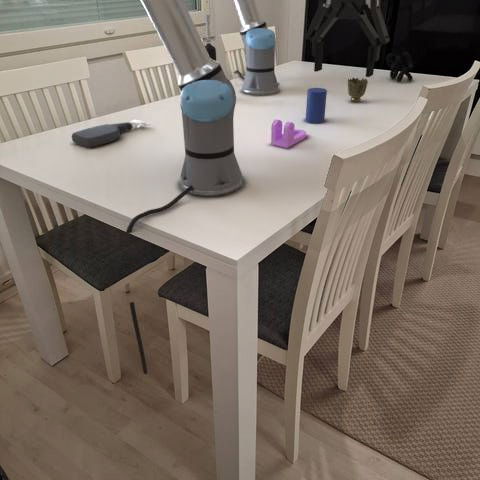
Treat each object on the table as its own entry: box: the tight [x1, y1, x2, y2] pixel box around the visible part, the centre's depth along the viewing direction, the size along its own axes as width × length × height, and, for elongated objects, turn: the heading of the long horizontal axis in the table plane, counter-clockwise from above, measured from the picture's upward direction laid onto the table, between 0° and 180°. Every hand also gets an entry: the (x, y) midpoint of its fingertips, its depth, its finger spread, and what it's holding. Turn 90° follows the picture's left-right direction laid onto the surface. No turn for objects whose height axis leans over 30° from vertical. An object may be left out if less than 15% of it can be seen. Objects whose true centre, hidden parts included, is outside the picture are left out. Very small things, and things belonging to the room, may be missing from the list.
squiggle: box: [385, 51, 414, 83], centre depth 198 cm, size 11×10×15 cm
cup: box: [347, 77, 369, 103], centre depth 170 cm, size 8×7×8 cm
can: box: [305, 87, 328, 124], centre depth 150 cm, size 6×6×10 cm
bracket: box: [270, 119, 307, 149], centre depth 134 cm, size 13×6×7 cm, turn 143°
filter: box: [204, 14, 217, 61], centre depth 171 cm, size 6×6×30 cm
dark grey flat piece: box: [71, 119, 151, 149], centre depth 142 cm, size 3×11×25 cm
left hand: (342, 73), depth 109 cm, fingers open, 13 cm apart
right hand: (341, 15), depth 186 cm, fingers open, 13 cm apart
